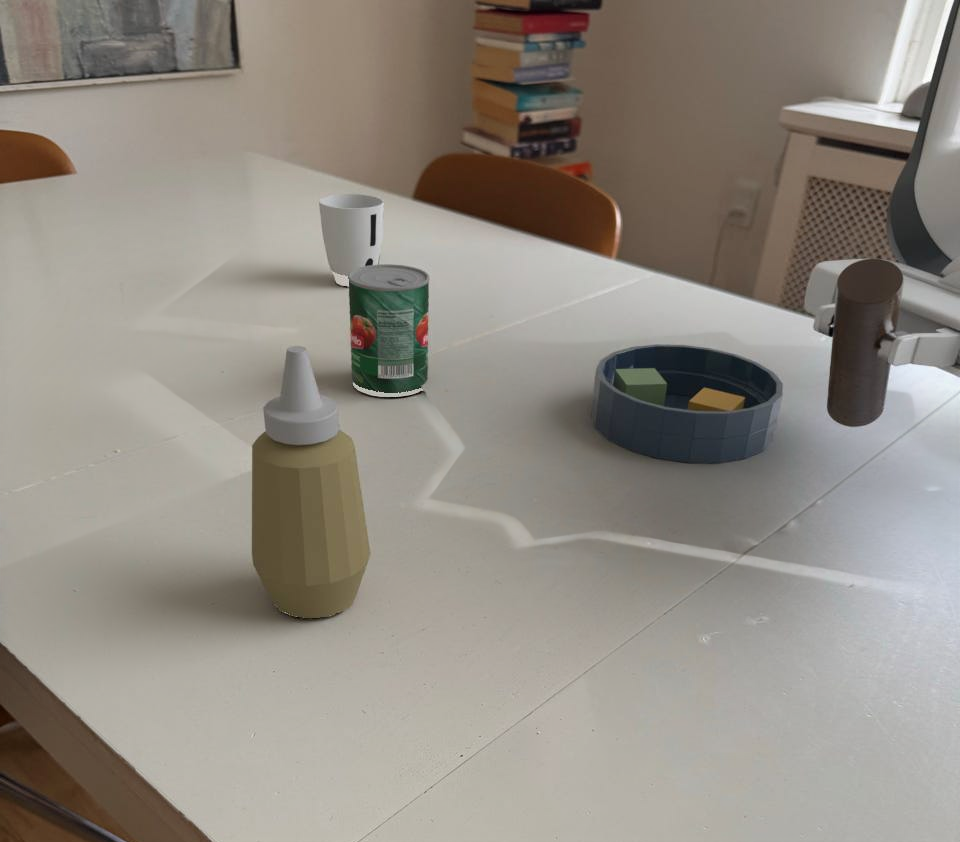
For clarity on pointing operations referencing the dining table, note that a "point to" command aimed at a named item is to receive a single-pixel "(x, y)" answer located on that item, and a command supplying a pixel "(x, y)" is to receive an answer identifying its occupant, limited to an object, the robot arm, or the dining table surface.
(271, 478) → the squeeze bottle
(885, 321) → the brown wooden dowel
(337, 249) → the cup
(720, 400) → the block ochre
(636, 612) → the dining table surface
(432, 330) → the dining table surface
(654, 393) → the block sage
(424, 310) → the canned tomato
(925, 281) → the robot arm
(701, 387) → the bowl
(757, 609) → the dining table surface
